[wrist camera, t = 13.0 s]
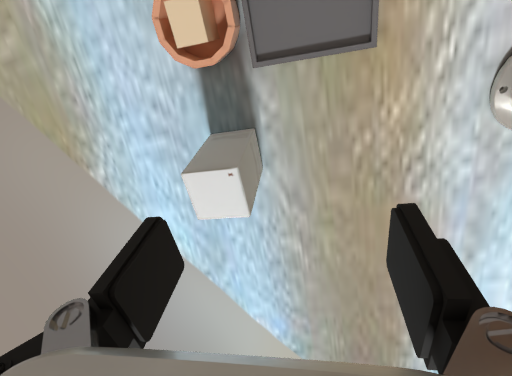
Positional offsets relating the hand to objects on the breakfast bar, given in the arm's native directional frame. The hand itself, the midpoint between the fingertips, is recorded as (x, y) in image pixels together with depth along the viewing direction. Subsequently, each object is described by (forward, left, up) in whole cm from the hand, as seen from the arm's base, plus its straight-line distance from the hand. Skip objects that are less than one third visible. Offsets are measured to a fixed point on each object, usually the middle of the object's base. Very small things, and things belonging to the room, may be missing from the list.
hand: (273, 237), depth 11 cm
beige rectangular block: (+11, -9, -30) cm, 33 cm away
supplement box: (+10, +9, -31) cm, 33 cm away
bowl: (+11, -9, -30) cm, 33 cm away
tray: (-2, -9, -30) cm, 32 cm away
